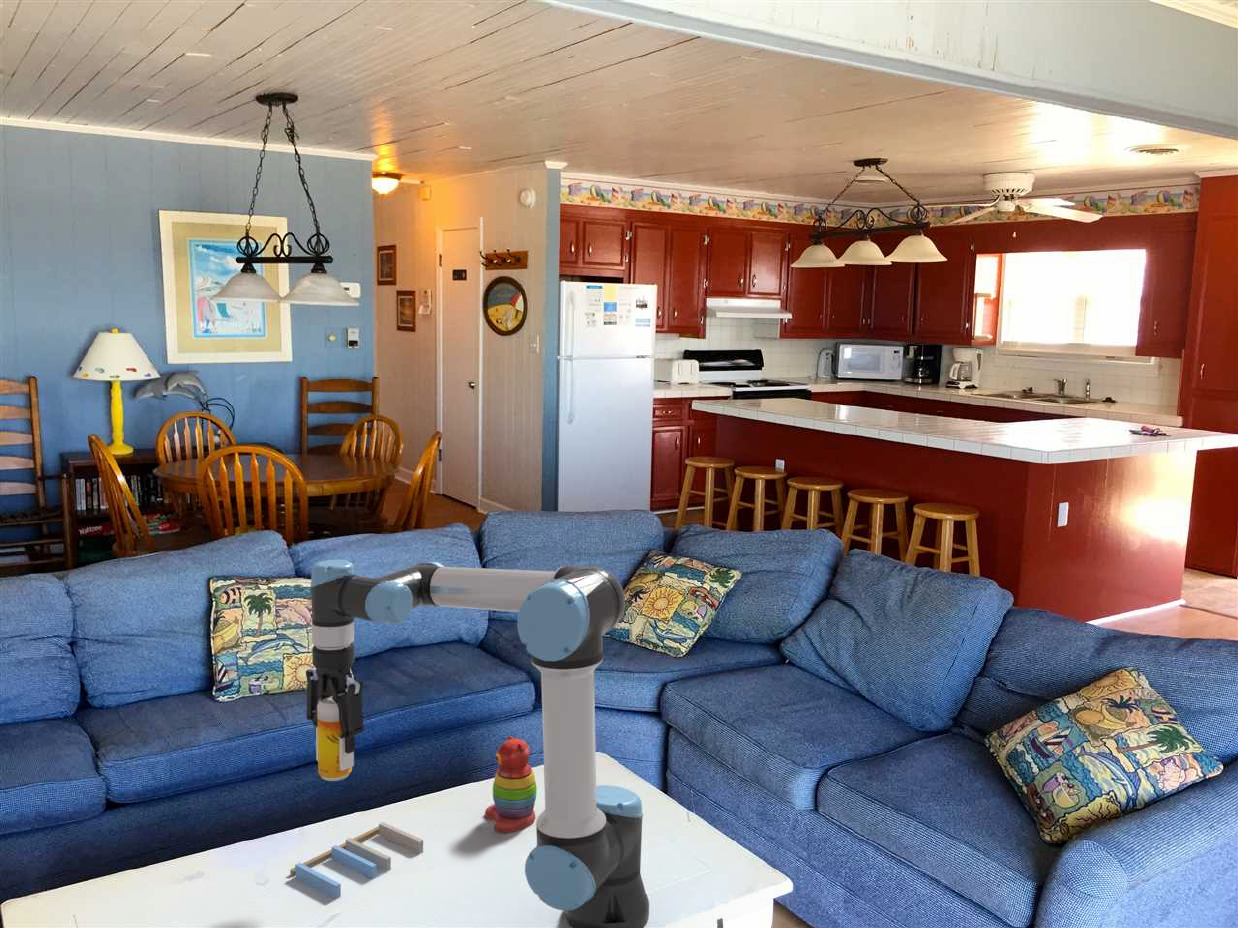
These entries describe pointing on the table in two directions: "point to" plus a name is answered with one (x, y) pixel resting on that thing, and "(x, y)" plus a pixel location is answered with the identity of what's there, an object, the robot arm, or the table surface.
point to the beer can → (329, 741)
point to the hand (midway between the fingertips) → (335, 762)
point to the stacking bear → (513, 788)
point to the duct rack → (356, 858)
